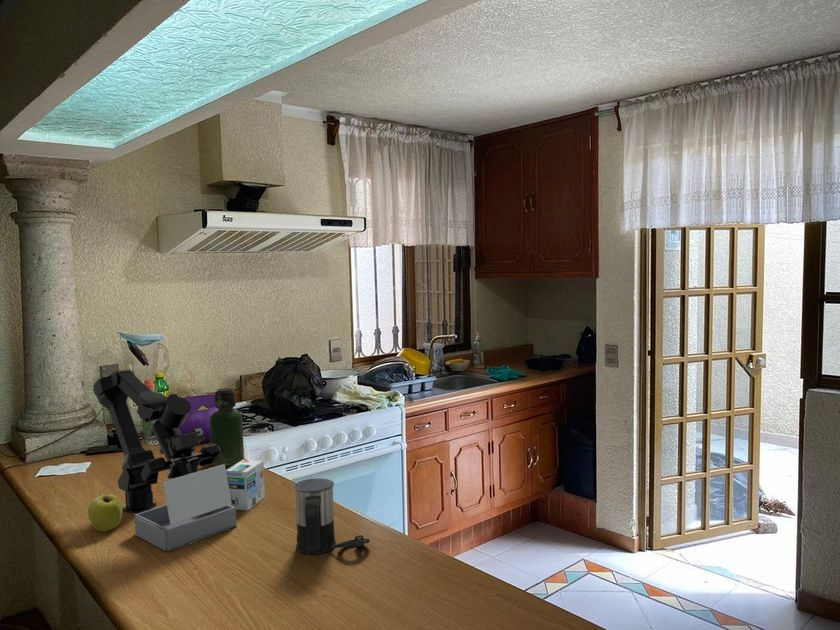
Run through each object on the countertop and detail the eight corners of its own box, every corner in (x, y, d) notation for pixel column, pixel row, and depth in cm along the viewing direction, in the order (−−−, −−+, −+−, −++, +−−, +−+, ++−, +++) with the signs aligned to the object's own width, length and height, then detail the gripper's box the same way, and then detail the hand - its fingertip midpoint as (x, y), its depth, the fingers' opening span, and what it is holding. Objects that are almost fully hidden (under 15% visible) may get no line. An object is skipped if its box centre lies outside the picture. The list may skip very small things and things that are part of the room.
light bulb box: (248, 511, 169) (246, 472, 168) (225, 509, 170) (223, 470, 170) (265, 497, 179) (264, 460, 179) (243, 495, 181) (242, 459, 180)
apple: (81, 534, 156) (78, 494, 155) (107, 521, 163) (105, 484, 163) (105, 538, 153) (103, 498, 152) (131, 525, 161) (129, 487, 160)
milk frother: (292, 541, 149) (290, 480, 148) (356, 530, 156) (354, 471, 155) (305, 567, 136) (303, 500, 135) (374, 553, 142) (373, 489, 141)
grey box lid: (170, 524, 146) (163, 481, 147) (230, 504, 158) (223, 464, 159) (171, 524, 145) (164, 481, 146) (231, 504, 158) (224, 464, 158)
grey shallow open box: (133, 534, 155) (132, 514, 155) (202, 511, 170) (201, 493, 169) (167, 552, 145) (166, 531, 144) (237, 526, 159) (236, 507, 159)
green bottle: (215, 459, 217) (212, 387, 215) (246, 457, 218) (243, 386, 216) (208, 468, 206) (205, 393, 204) (241, 467, 207) (238, 392, 206)
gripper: (144, 427, 148) (170, 482, 142) (215, 412, 162) (242, 462, 156) (130, 454, 153) (155, 509, 147) (199, 438, 168) (225, 487, 161)
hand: (196, 490), depth 153 cm, fingers closed
